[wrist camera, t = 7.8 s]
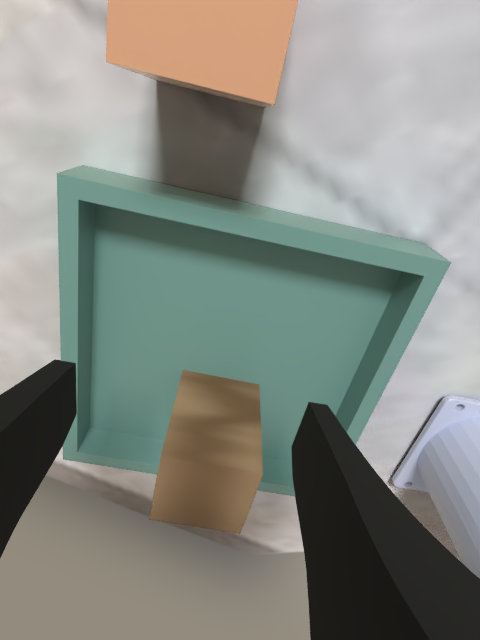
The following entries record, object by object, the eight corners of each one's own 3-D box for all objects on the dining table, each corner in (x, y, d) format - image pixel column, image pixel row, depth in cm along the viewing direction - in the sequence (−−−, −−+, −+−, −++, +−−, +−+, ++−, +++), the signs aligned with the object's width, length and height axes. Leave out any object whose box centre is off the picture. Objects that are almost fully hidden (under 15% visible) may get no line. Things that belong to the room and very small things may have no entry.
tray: (426, 243, 18) (451, 262, 15) (319, 467, 25) (325, 501, 23) (82, 165, 16) (57, 173, 14) (80, 427, 24) (63, 459, 22)
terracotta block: (296, -35, 13) (329, -136, 8) (264, 107, 15) (274, 104, 10) (170, -72, 13) (115, -204, 7) (156, 80, 15) (106, 61, 9)
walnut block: (259, 384, 21) (262, 474, 16) (241, 438, 23) (240, 533, 18) (182, 369, 21) (160, 456, 15) (171, 426, 23) (149, 519, 18)
